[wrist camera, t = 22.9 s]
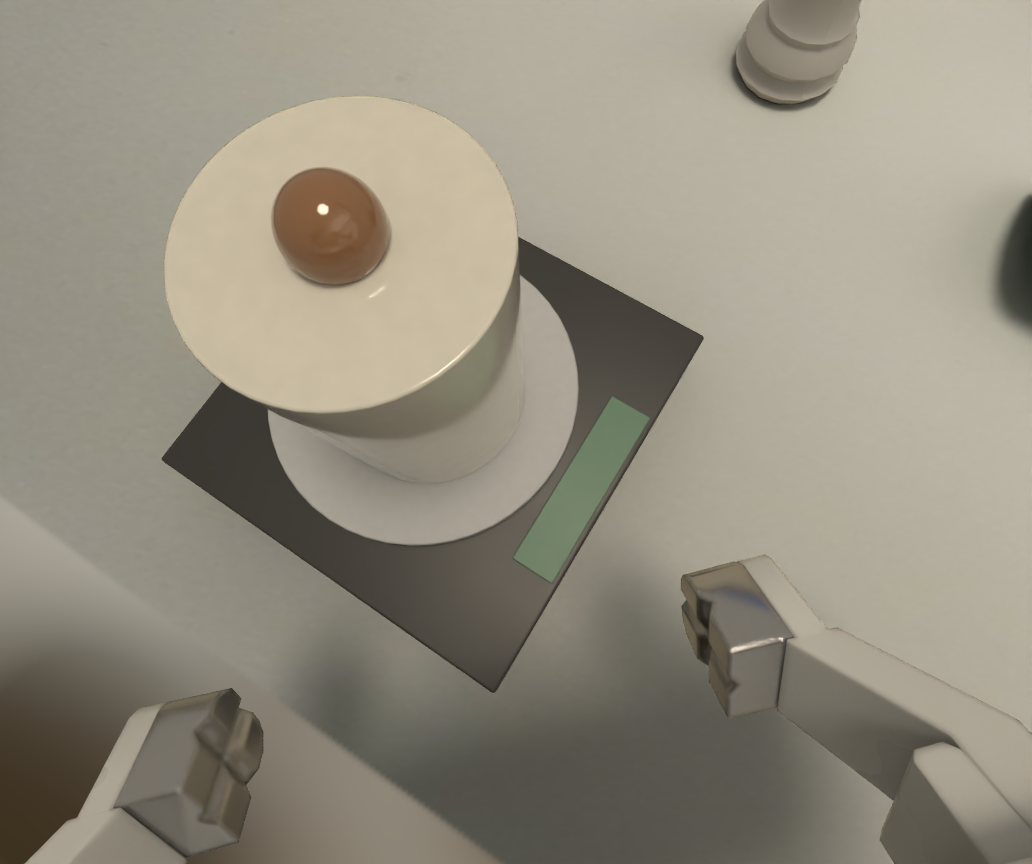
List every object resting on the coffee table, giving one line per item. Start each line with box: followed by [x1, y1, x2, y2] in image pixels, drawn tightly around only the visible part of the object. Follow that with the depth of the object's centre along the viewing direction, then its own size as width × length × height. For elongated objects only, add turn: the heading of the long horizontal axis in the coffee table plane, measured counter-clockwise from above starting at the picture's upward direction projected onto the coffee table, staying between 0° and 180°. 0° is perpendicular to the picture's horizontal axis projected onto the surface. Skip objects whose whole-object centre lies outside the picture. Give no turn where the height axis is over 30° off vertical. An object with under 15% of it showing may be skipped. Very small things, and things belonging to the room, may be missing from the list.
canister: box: [164, 96, 526, 484], centre depth 12 cm, size 6×6×9 cm
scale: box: [162, 237, 704, 693], centre depth 18 cm, size 13×13×3 cm
